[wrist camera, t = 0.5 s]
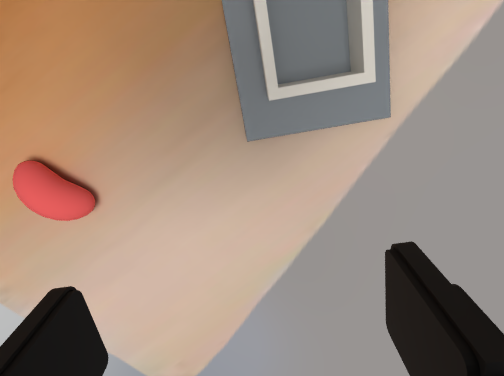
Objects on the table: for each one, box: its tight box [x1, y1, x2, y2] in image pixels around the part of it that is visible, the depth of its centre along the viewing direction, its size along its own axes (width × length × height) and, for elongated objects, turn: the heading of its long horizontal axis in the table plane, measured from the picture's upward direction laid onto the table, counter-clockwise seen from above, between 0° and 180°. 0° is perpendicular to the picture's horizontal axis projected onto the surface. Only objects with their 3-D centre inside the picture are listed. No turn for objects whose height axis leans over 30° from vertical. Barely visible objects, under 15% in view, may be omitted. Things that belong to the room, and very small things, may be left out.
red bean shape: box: [13, 161, 95, 221], centre depth 39 cm, size 5×9×6 cm
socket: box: [222, 0, 391, 142], centre depth 31 cm, size 20×16×6 cm
